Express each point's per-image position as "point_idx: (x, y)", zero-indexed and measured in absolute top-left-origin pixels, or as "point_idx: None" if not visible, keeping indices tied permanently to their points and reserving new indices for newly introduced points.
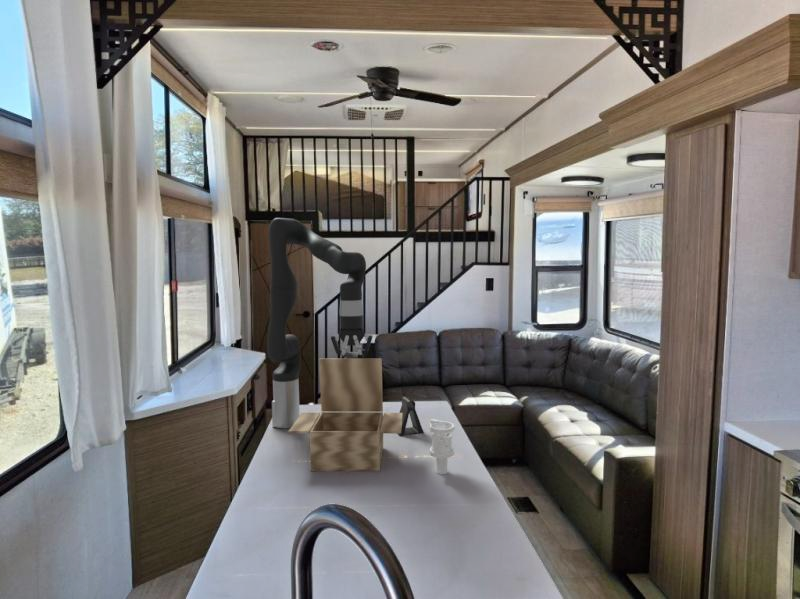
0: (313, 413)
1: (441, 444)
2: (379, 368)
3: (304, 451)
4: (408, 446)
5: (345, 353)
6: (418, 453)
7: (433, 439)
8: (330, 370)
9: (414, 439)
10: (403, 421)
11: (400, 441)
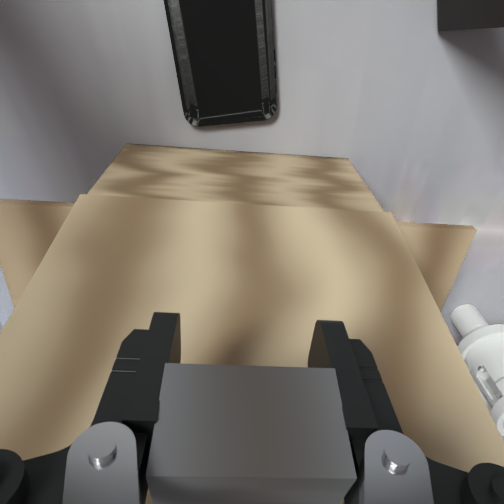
0: (48, 217)
1: (494, 394)
2: (480, 454)
3: (74, 174)
4: (437, 150)
5: (144, 498)
6: (449, 208)
7: (484, 391)
8: (60, 428)
9: (485, 78)
10: (492, 25)
11: (423, 97)
